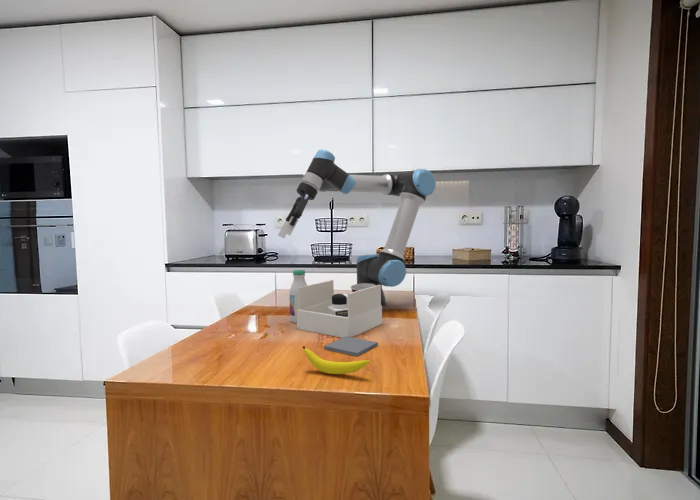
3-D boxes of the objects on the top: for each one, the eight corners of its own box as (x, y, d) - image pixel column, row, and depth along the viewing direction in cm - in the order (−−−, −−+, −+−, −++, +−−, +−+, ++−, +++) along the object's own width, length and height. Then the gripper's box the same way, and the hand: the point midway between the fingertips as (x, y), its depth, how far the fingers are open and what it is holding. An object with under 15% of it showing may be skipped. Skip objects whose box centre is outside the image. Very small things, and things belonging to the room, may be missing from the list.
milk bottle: (311, 318, 161) (310, 269, 159) (307, 323, 153) (306, 271, 152) (292, 318, 162) (291, 269, 160) (287, 323, 154) (286, 271, 153)
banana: (368, 382, 98) (368, 356, 98) (300, 371, 106) (299, 347, 105) (372, 377, 101) (372, 353, 101) (305, 367, 108) (305, 344, 108)
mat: (346, 339, 133) (346, 336, 133) (377, 345, 126) (377, 342, 126) (324, 349, 123) (324, 346, 123) (357, 356, 117) (357, 353, 116)
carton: (333, 316, 165) (333, 279, 164) (381, 323, 152) (381, 284, 151) (297, 328, 146) (296, 288, 145) (348, 338, 134) (347, 294, 132)
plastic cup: (346, 315, 165) (346, 286, 164) (356, 310, 175) (355, 282, 174) (371, 317, 161) (371, 288, 160) (379, 312, 171) (379, 284, 170)
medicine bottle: (335, 330, 144) (335, 297, 143) (327, 325, 151) (327, 293, 150) (353, 327, 148) (353, 295, 147) (344, 322, 154) (344, 292, 153)
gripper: (294, 188, 165) (270, 233, 161) (307, 174, 141) (279, 227, 137) (310, 197, 167) (287, 242, 163) (326, 185, 143) (299, 237, 139)
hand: (283, 235), depth 150 cm, fingers open, 13 cm apart
